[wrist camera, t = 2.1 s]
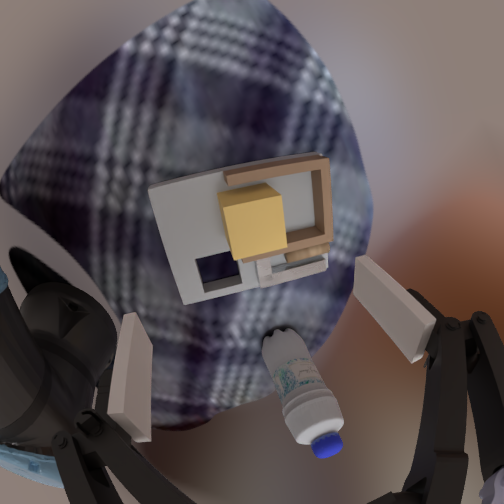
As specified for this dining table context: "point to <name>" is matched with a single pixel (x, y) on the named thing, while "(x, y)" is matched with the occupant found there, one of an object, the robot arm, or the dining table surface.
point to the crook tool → (287, 270)
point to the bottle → (303, 393)
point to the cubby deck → (211, 226)
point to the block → (253, 220)
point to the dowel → (307, 252)
